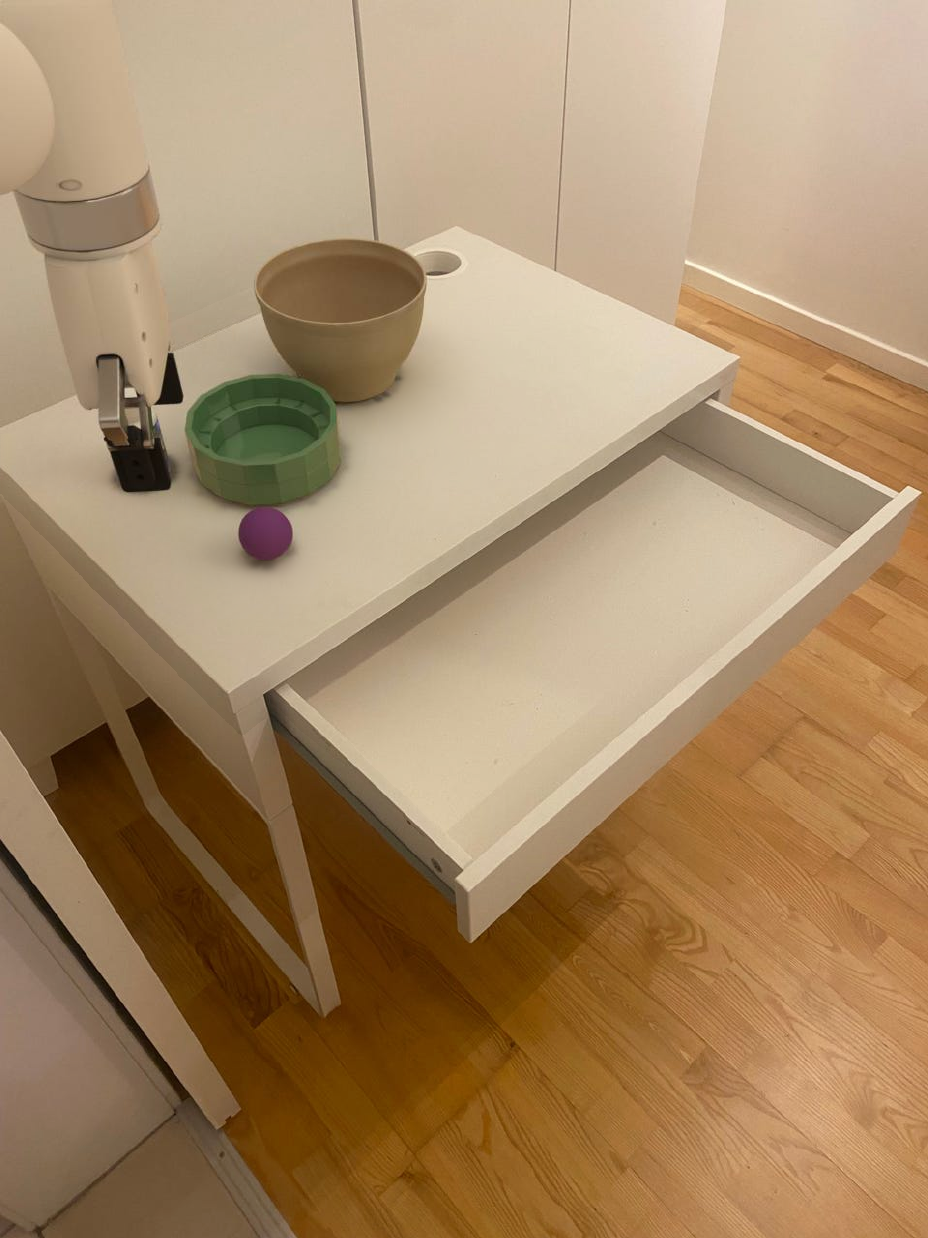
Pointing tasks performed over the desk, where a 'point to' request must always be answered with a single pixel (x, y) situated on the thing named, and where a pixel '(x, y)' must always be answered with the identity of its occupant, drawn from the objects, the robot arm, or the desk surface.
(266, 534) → the ball
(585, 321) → the desk surface
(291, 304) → the planter bowl
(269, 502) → the bowl
